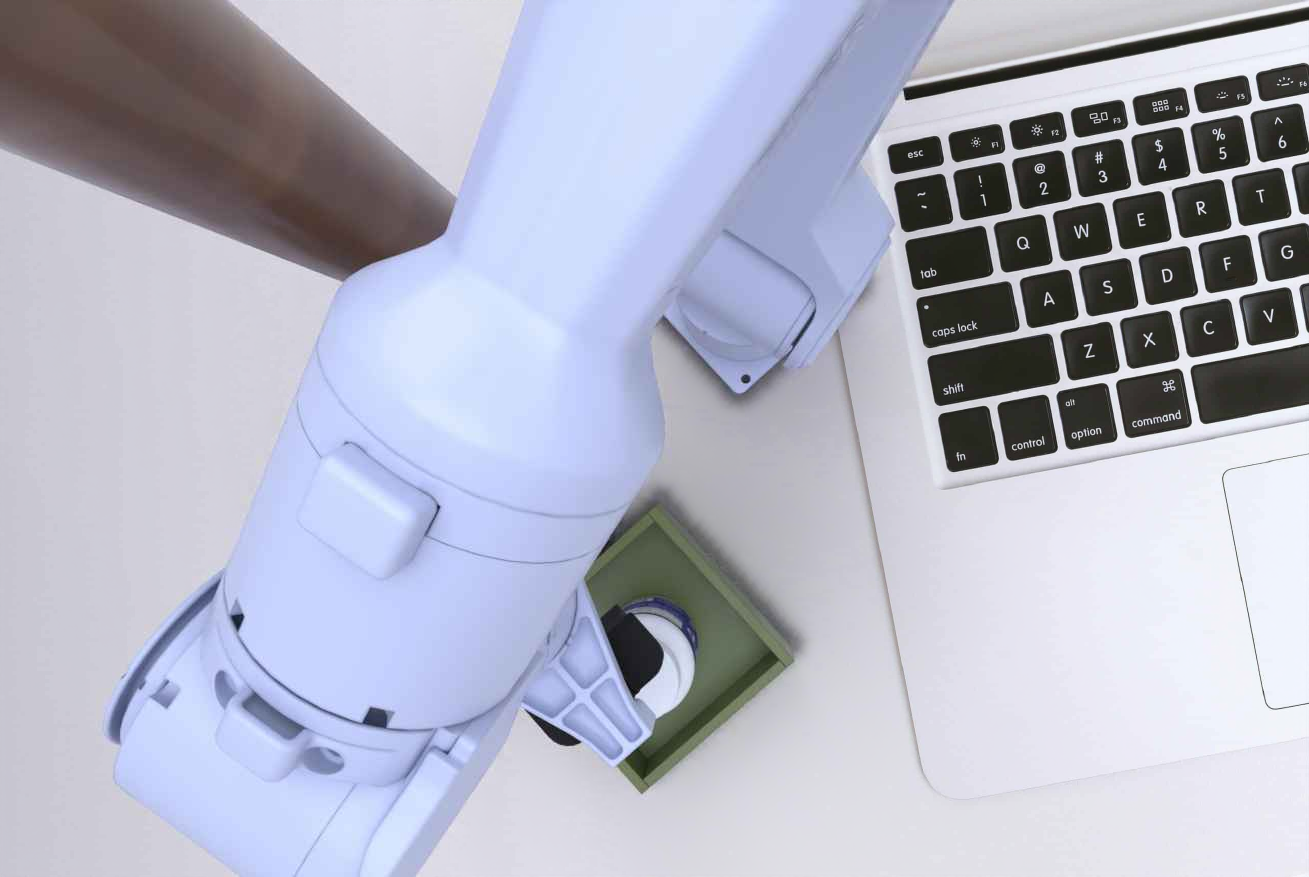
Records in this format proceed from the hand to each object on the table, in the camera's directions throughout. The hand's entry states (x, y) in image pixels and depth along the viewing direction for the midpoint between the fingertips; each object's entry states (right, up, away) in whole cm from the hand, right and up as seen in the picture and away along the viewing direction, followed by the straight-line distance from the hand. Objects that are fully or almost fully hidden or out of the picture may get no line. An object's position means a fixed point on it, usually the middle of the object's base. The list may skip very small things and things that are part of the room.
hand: (550, 561), depth 40 cm
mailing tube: (-3, +14, +11) cm, 18 cm away
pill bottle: (+5, -6, +10) cm, 12 cm away
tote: (+5, -6, +10) cm, 13 cm away
